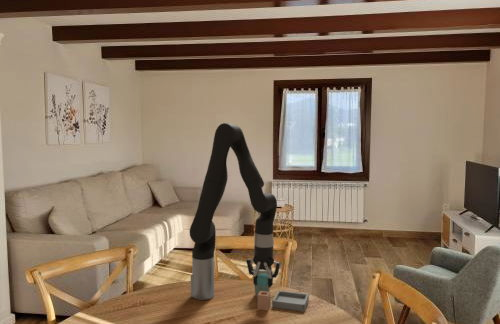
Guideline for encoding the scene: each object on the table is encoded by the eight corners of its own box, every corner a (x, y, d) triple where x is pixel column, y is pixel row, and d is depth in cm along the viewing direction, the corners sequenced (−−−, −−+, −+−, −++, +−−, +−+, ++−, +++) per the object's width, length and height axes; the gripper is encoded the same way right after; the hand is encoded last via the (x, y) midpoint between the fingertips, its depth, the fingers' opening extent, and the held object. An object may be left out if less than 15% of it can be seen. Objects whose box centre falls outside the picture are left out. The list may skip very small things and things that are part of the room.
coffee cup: (270, 300, 169) (270, 272, 168) (250, 298, 171) (250, 270, 170) (273, 292, 178) (273, 265, 177) (254, 290, 179) (254, 264, 178)
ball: (255, 287, 159) (255, 275, 159) (258, 283, 164) (259, 271, 163) (267, 289, 158) (267, 276, 157) (270, 284, 162) (270, 272, 162)
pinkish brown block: (257, 309, 160) (257, 294, 160) (260, 305, 164) (260, 290, 164) (267, 310, 159) (267, 296, 159) (270, 306, 163) (270, 292, 163)
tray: (272, 307, 162) (272, 300, 162) (278, 296, 173) (278, 290, 172) (304, 311, 158) (304, 304, 158) (308, 300, 169) (308, 294, 169)
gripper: (243, 244, 158) (243, 287, 159) (279, 248, 154) (278, 292, 155) (249, 239, 165) (248, 280, 166) (283, 243, 161) (282, 284, 162)
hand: (263, 285), depth 161 cm, fingers closed on ball, 5 cm apart
